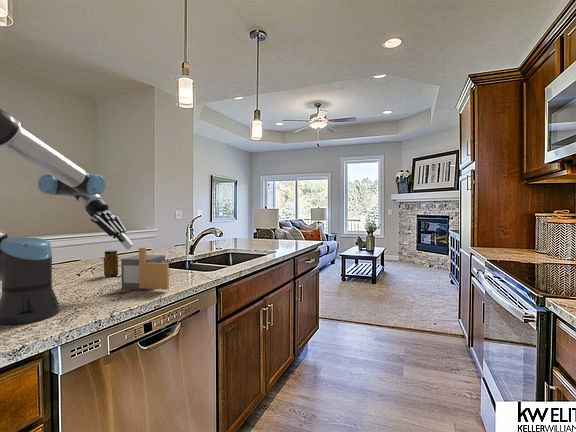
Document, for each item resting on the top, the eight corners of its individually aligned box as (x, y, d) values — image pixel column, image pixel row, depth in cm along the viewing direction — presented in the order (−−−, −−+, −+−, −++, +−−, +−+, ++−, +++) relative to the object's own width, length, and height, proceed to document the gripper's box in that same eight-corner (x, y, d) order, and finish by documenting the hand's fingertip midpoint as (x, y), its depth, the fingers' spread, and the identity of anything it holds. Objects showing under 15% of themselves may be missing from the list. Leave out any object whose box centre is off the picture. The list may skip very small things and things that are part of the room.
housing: (153, 290, 125) (152, 257, 125) (121, 288, 128) (121, 257, 127) (169, 283, 137) (169, 253, 137) (140, 281, 140) (140, 252, 139)
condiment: (106, 274, 155) (106, 250, 155) (125, 274, 157) (124, 249, 156) (100, 277, 148) (100, 252, 148) (120, 277, 149) (119, 251, 149)
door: (167, 289, 122) (166, 248, 122) (139, 288, 125) (138, 248, 124) (168, 288, 124) (168, 248, 123) (141, 287, 126) (140, 247, 125)
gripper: (101, 211, 135) (135, 251, 132) (74, 211, 122) (112, 255, 119) (111, 198, 134) (146, 239, 131) (86, 197, 121) (124, 242, 118)
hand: (130, 246), depth 125 cm, fingers closed
